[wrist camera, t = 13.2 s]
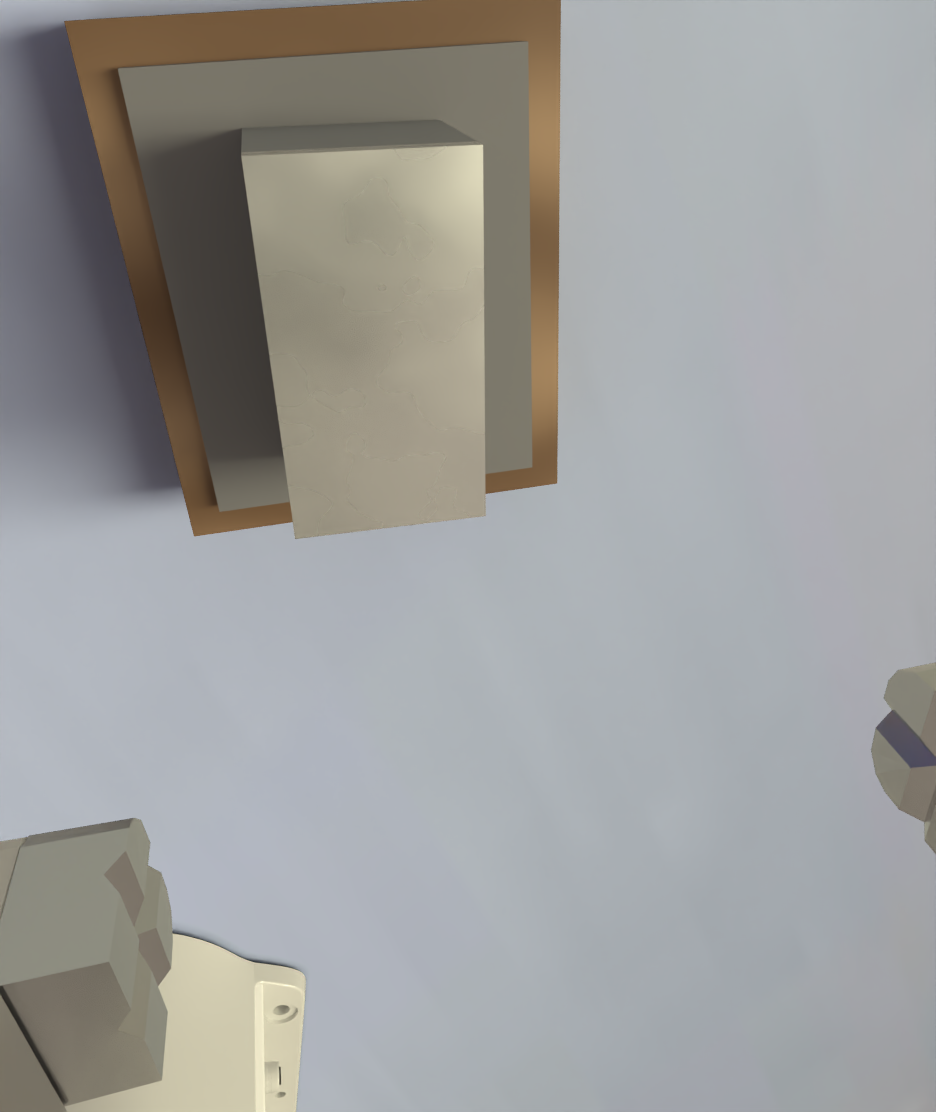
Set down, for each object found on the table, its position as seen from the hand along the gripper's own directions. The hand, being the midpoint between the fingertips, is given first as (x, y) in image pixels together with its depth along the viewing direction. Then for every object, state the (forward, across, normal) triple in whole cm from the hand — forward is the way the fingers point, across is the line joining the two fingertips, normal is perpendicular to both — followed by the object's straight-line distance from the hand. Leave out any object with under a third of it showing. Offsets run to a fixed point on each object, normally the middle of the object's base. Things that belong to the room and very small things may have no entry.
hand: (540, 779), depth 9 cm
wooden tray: (+22, 0, 0) cm, 22 cm away
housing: (+18, 0, 0) cm, 18 cm away
